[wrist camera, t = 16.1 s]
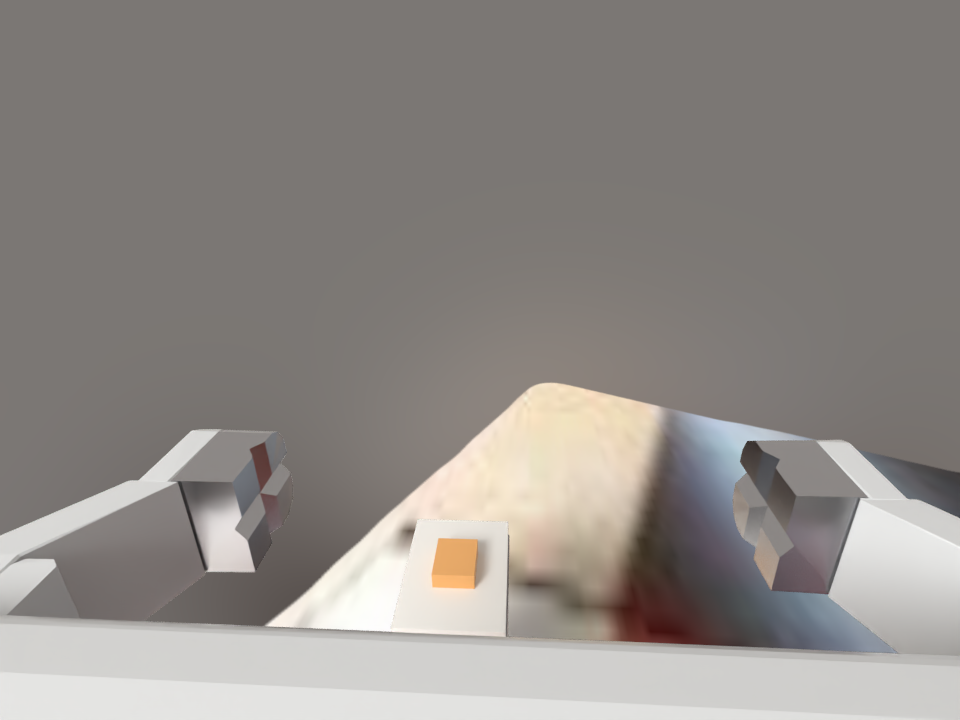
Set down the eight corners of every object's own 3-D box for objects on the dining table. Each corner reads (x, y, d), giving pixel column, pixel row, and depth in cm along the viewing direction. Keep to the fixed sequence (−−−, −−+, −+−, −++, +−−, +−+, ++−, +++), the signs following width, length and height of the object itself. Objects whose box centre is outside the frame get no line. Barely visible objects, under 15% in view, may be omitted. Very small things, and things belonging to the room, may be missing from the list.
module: (506, 818, 29) (506, 620, 23) (412, 812, 29) (387, 615, 23) (509, 690, 35) (509, 509, 29) (431, 686, 36) (416, 507, 30)
